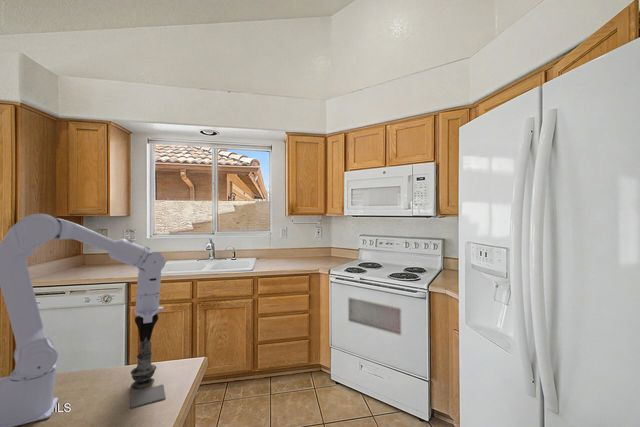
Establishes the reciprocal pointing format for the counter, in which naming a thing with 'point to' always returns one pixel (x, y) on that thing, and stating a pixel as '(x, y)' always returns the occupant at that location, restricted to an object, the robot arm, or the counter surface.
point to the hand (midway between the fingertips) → (144, 342)
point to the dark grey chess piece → (143, 367)
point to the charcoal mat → (147, 396)
